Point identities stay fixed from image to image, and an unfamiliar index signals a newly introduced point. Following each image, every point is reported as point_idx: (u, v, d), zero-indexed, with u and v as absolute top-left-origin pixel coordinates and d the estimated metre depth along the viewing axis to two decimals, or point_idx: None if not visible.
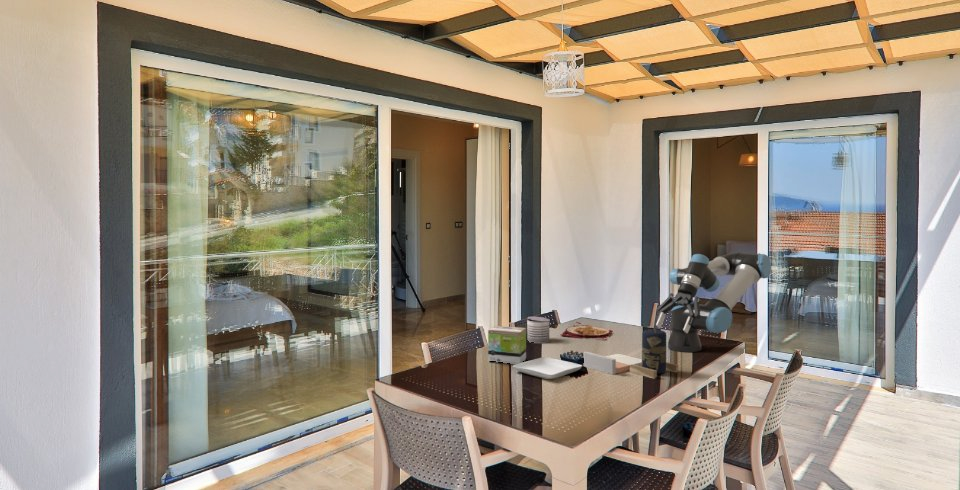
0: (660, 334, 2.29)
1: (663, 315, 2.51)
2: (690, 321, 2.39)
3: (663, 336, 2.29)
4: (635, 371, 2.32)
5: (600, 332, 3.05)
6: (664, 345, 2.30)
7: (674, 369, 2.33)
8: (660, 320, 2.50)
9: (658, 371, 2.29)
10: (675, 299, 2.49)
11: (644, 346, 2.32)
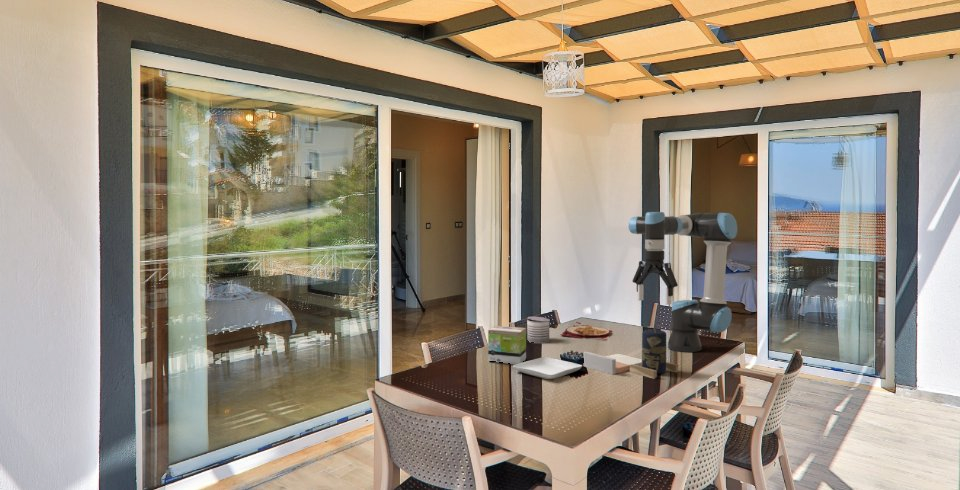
0: (660, 334, 2.29)
1: (641, 286, 2.37)
2: (669, 293, 2.26)
3: (663, 336, 2.29)
4: (635, 371, 2.32)
5: (600, 332, 3.05)
6: (664, 345, 2.30)
7: (674, 369, 2.33)
8: (640, 293, 2.37)
9: (658, 371, 2.29)
10: (646, 269, 2.33)
11: (644, 346, 2.32)
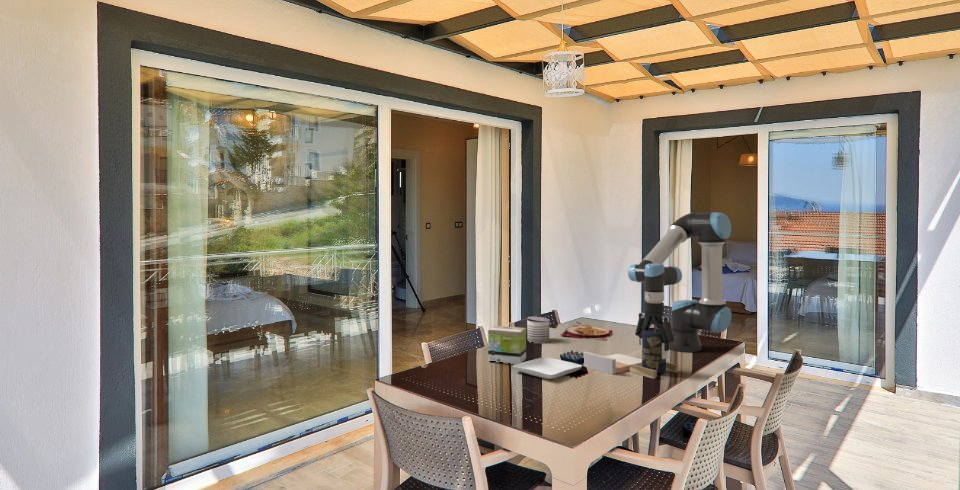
0: (660, 334, 2.29)
1: None
2: (665, 347, 2.28)
3: None
4: (635, 371, 2.32)
5: (600, 332, 3.05)
6: None
7: (674, 369, 2.33)
8: None
9: (658, 371, 2.29)
10: (646, 321, 2.34)
11: (644, 346, 2.32)
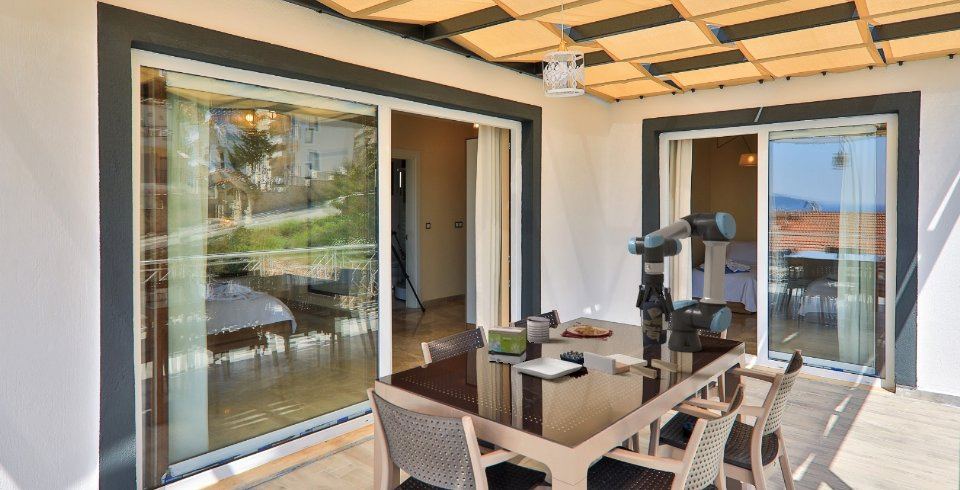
0: (661, 305, 2.28)
1: None
2: (666, 318, 2.28)
3: None
4: (635, 371, 2.32)
5: (600, 332, 3.05)
6: None
7: (674, 369, 2.33)
8: None
9: (659, 342, 2.29)
10: (647, 292, 2.33)
11: (645, 318, 2.31)
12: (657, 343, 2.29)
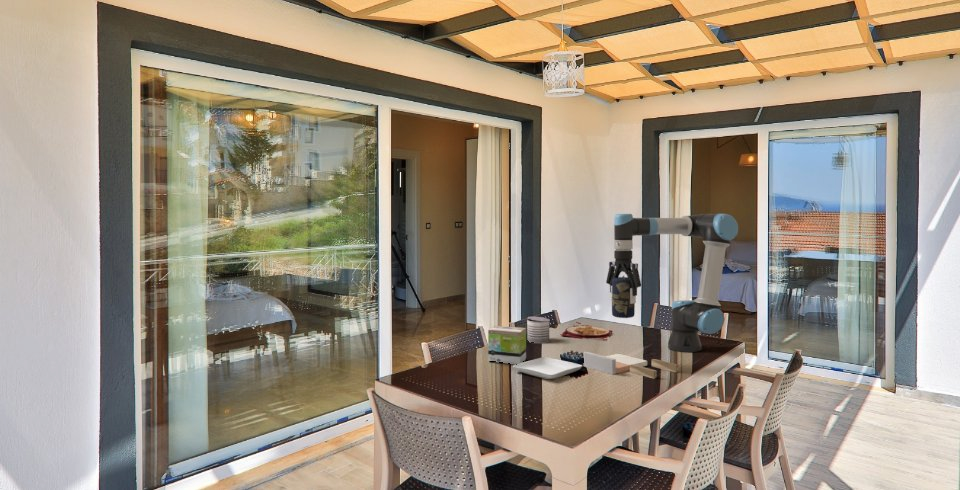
0: (628, 280, 2.41)
1: None
2: (633, 292, 2.40)
3: None
4: (635, 371, 2.32)
5: (600, 332, 3.05)
6: None
7: (674, 369, 2.33)
8: None
9: (626, 315, 2.41)
10: (616, 268, 2.45)
11: (614, 292, 2.43)
12: (625, 316, 2.41)
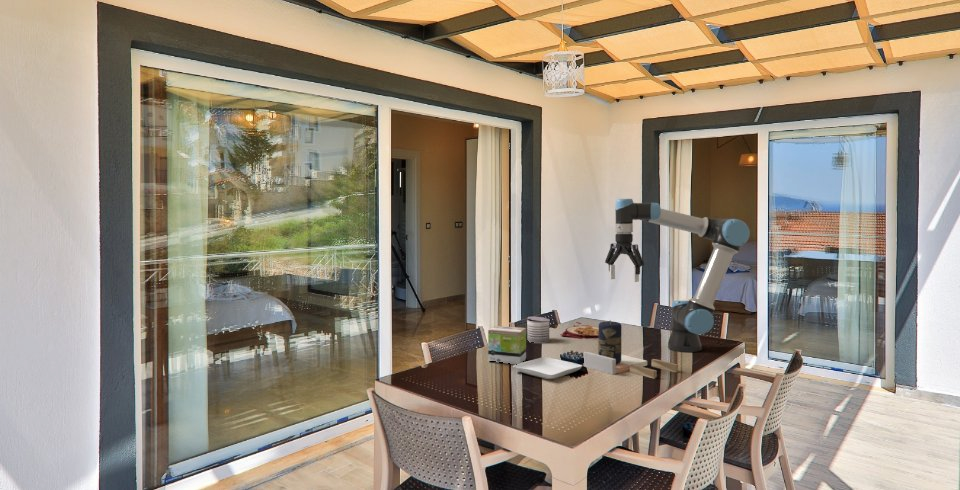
0: (615, 326, 2.37)
1: (612, 266, 2.62)
2: (636, 271, 2.50)
3: (618, 327, 2.37)
4: (635, 371, 2.32)
5: None
6: (619, 336, 2.38)
7: (674, 369, 2.33)
8: (612, 273, 2.62)
9: None
10: (616, 250, 2.58)
11: (600, 337, 2.40)
12: None
